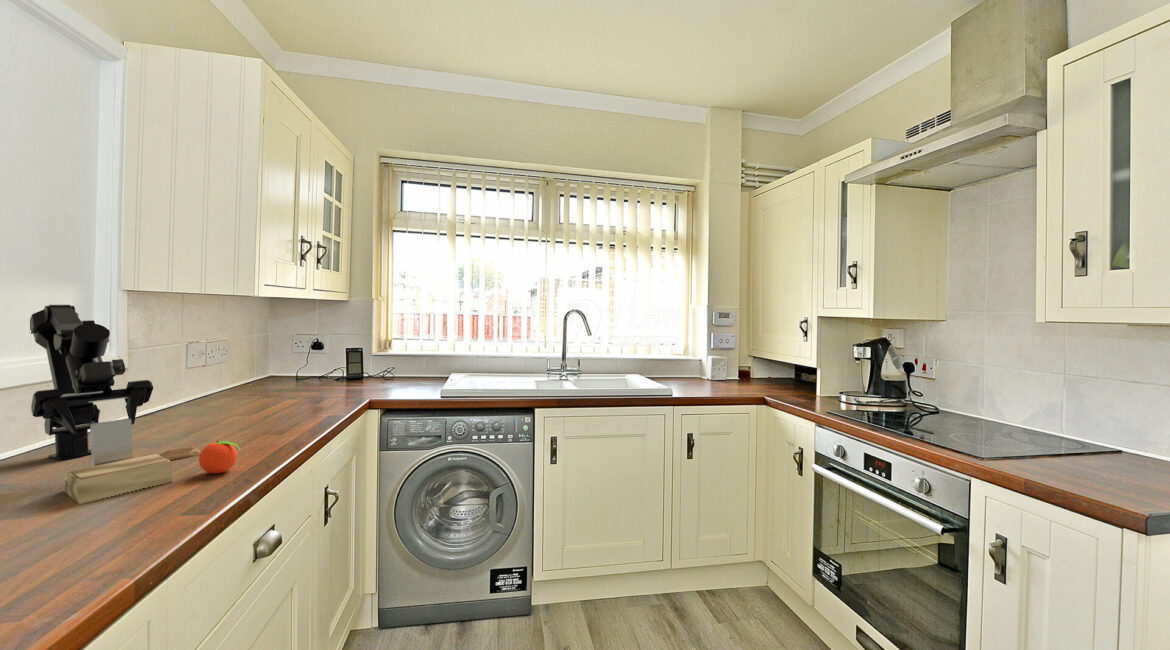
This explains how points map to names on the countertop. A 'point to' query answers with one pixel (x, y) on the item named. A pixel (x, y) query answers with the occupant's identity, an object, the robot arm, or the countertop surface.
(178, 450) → the shard
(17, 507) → the countertop surface
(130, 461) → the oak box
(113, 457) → the cover plate
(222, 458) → the clementine
